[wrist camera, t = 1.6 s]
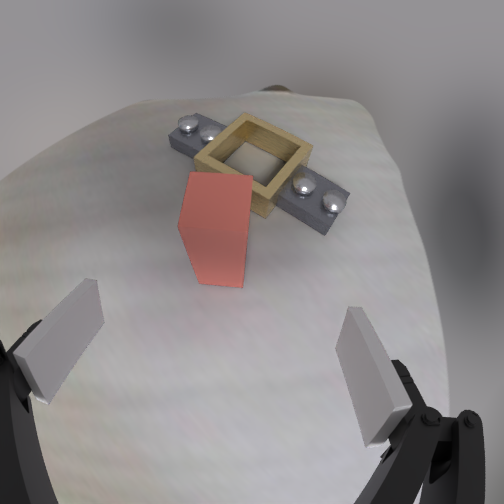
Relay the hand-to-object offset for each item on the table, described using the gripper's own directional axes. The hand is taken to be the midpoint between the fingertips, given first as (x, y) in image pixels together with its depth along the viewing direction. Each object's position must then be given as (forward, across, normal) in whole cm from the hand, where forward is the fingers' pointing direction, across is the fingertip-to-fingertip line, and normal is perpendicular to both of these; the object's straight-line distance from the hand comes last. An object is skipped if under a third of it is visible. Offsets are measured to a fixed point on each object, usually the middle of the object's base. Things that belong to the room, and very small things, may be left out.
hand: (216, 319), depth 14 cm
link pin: (+13, -1, -3) cm, 13 cm away
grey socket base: (+21, +1, +5) cm, 22 cm away
